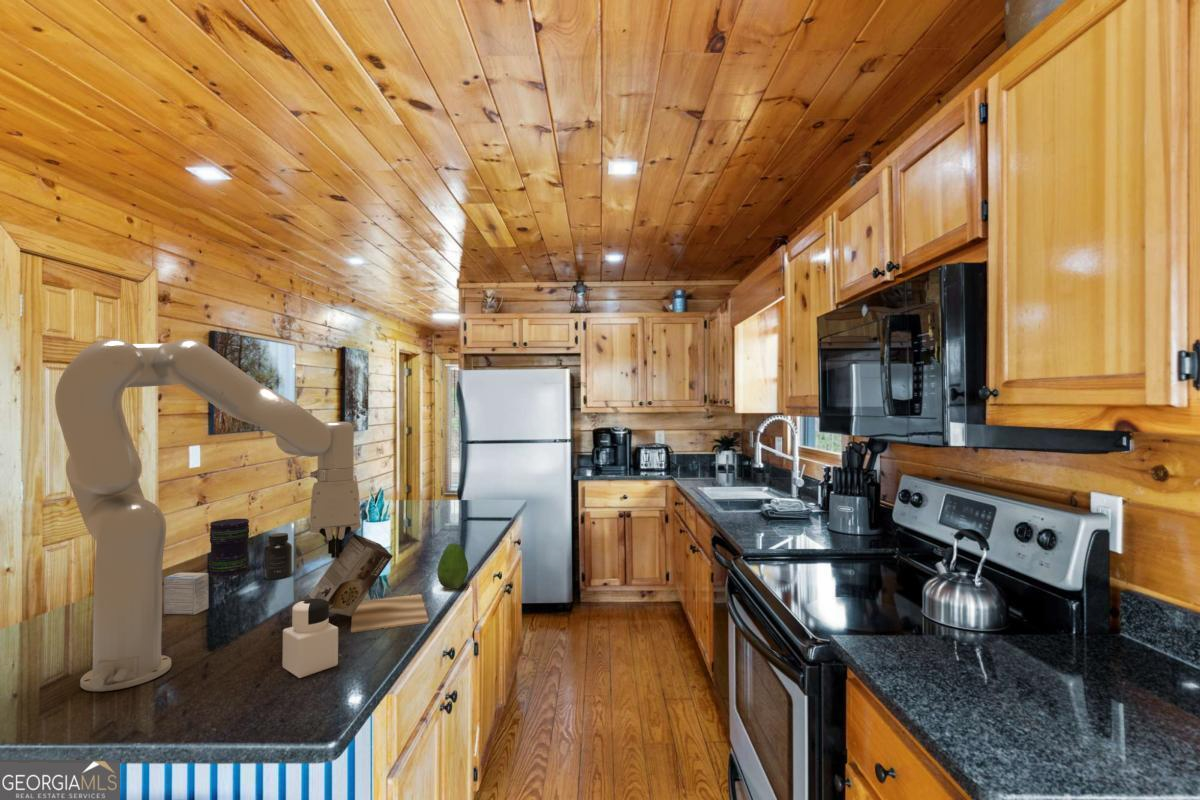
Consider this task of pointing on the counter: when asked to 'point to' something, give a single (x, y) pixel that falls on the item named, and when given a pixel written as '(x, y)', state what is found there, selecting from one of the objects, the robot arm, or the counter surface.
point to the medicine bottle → (310, 639)
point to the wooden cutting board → (389, 613)
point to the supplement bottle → (278, 557)
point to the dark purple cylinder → (229, 547)
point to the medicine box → (186, 593)
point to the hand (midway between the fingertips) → (335, 556)
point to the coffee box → (351, 575)
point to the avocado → (452, 567)
